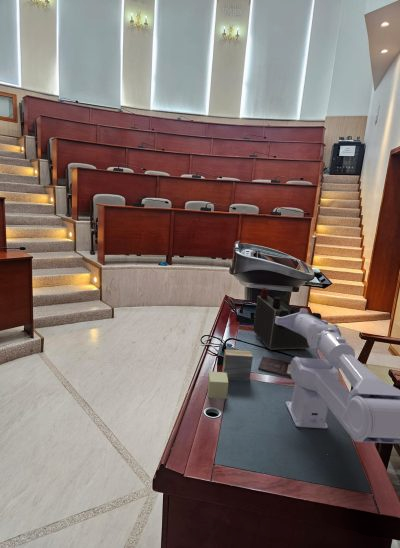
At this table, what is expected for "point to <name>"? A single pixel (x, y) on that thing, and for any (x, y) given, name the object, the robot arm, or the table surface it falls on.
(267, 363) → the chocolate bar
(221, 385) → the olive cube
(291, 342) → the voltmeter
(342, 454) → the table surface
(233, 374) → the beech slab
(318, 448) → the table surface
